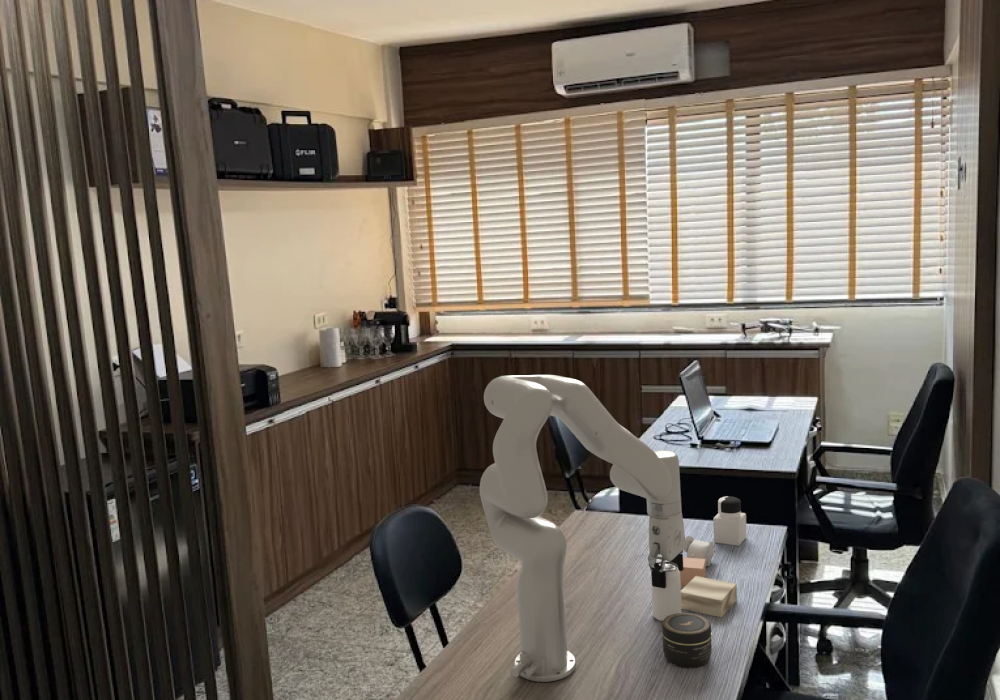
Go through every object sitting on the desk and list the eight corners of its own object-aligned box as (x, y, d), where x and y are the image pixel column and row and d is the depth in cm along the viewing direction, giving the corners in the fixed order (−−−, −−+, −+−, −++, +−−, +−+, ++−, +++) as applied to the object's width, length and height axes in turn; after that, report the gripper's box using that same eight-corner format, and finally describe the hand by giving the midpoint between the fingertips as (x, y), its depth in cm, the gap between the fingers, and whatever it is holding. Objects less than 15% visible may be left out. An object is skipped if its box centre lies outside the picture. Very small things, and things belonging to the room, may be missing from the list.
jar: (721, 656, 175) (721, 621, 173) (694, 675, 168) (693, 639, 167) (681, 640, 182) (680, 607, 181) (652, 659, 175) (651, 624, 174)
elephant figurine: (723, 561, 221) (723, 535, 220) (704, 573, 215) (704, 547, 213) (697, 554, 227) (697, 529, 226) (678, 566, 220) (677, 540, 219)
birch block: (721, 617, 191) (721, 600, 190) (679, 608, 197) (679, 591, 196) (736, 599, 199) (736, 583, 198) (696, 591, 205) (695, 575, 204)
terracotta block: (703, 588, 207) (703, 568, 206) (678, 586, 209) (678, 566, 208) (705, 578, 212) (705, 559, 212) (681, 576, 214) (681, 557, 214)
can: (647, 613, 195) (645, 563, 194) (672, 607, 197) (671, 558, 195) (661, 625, 189) (659, 574, 187) (686, 619, 191) (685, 568, 189)
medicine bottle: (746, 537, 236) (745, 496, 235) (739, 546, 231) (738, 504, 229) (721, 533, 240) (720, 493, 238) (713, 542, 234) (712, 500, 233)
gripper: (663, 522, 180) (668, 597, 183) (694, 495, 194) (698, 566, 197) (631, 517, 185) (636, 590, 187) (664, 492, 199) (668, 560, 201)
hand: (668, 578), depth 192 cm, fingers open, 9 cm apart
